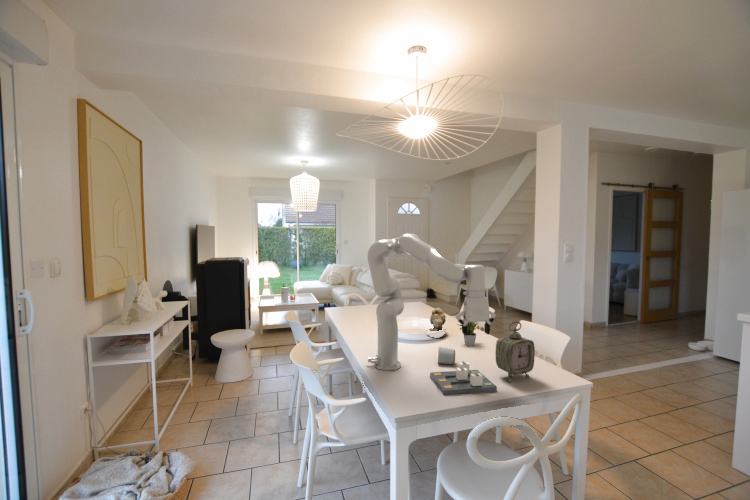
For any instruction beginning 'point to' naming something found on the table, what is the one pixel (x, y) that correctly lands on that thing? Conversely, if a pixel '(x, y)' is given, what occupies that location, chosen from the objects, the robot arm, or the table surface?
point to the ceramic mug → (446, 355)
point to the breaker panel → (460, 383)
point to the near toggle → (476, 379)
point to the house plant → (470, 334)
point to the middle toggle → (461, 373)
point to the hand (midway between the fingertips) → (476, 334)
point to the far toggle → (464, 365)
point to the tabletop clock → (515, 354)
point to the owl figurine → (438, 320)
